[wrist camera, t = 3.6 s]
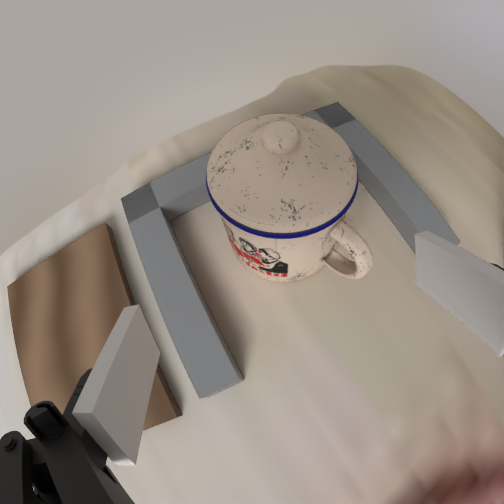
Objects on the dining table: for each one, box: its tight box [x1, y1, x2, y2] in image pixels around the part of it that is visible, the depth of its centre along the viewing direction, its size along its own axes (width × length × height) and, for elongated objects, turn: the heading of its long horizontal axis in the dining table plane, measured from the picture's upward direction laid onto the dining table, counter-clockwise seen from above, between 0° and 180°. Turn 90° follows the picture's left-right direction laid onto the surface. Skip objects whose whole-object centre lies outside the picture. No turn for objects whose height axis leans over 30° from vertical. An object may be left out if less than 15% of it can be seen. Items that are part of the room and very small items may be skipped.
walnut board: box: [7, 223, 182, 431], centre depth 23 cm, size 14×18×1 cm
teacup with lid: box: [206, 113, 373, 282], centre depth 20 cm, size 12×9×12 cm
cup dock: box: [121, 102, 460, 399], centre depth 25 cm, size 23×18×2 cm
